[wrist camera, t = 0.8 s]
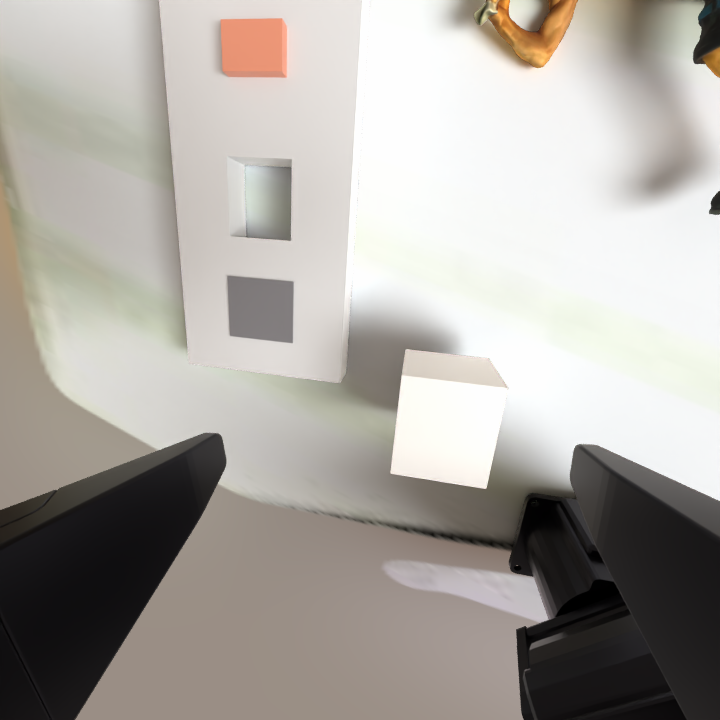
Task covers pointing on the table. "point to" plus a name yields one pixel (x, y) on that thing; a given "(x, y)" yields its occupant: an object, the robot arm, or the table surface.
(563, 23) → the action figure
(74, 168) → the table surface
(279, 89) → the power strip
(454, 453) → the block
